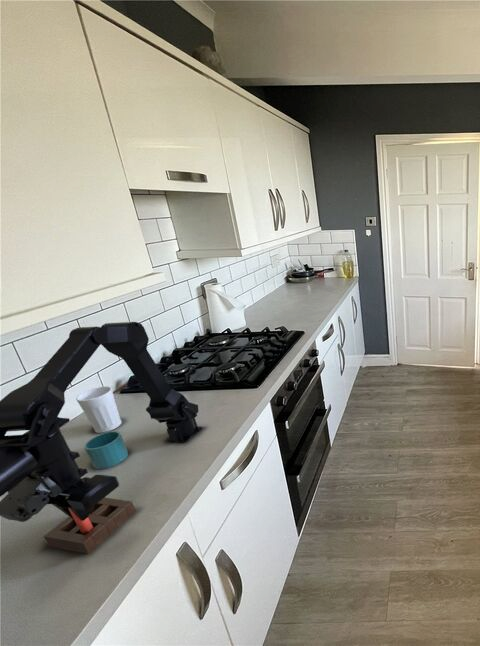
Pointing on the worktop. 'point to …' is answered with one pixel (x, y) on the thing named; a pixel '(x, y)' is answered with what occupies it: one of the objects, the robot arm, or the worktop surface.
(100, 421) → the cup
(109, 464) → the teal round container
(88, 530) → the red rod
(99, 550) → the worktop surface
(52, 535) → the stand
